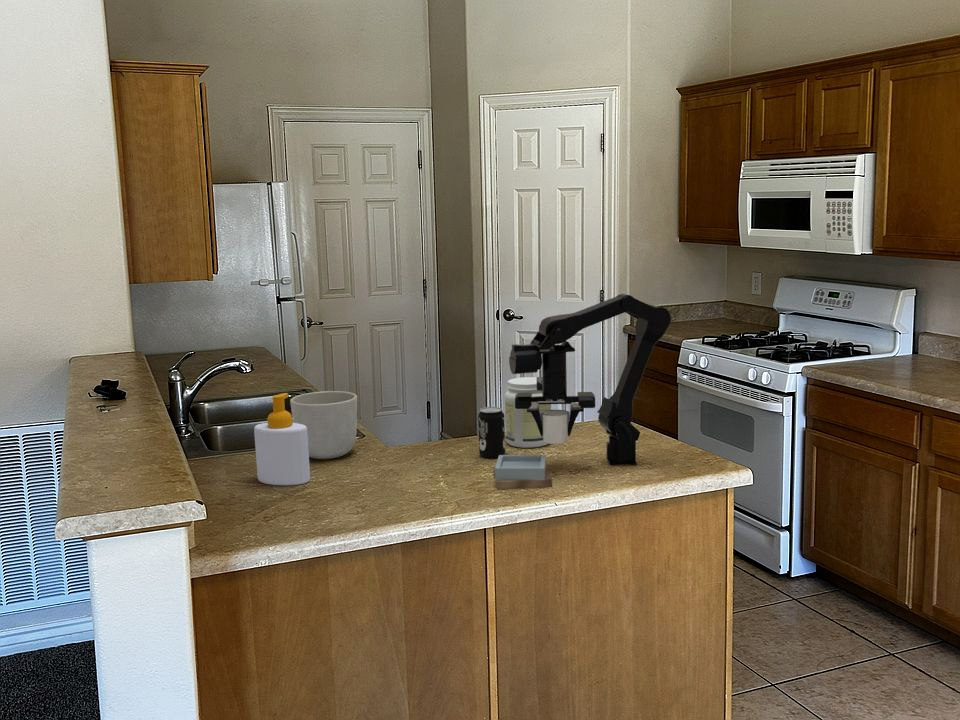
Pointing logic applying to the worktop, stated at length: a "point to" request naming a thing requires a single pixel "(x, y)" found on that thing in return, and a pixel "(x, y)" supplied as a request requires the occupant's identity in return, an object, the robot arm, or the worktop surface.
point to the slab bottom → (524, 483)
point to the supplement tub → (522, 415)
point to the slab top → (520, 467)
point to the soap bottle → (281, 448)
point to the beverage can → (491, 432)
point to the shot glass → (555, 426)
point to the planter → (327, 421)
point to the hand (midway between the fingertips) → (555, 435)
